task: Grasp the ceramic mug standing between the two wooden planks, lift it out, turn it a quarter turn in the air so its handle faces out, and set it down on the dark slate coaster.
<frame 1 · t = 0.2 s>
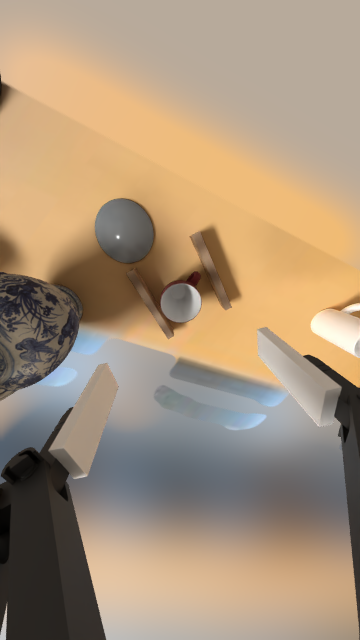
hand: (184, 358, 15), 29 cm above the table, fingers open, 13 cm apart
decorative vase: (60, 306, 41), on the table
mug: (180, 287, 41), on the table
mug 2: (329, 315, 47), on the table
wooden planks: (180, 287, 41), on the table
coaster: (125, 233, 36), on the table
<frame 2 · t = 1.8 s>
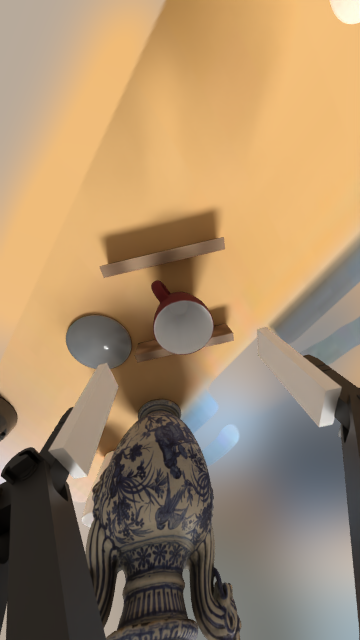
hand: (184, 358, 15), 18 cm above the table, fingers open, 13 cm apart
decorative vase: (160, 413, 42), on the table
mug: (173, 300, 31), on the table
cup: (117, 456, 48), on the table
wooden planks: (173, 300, 31), on the table
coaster: (100, 343, 33), on the table
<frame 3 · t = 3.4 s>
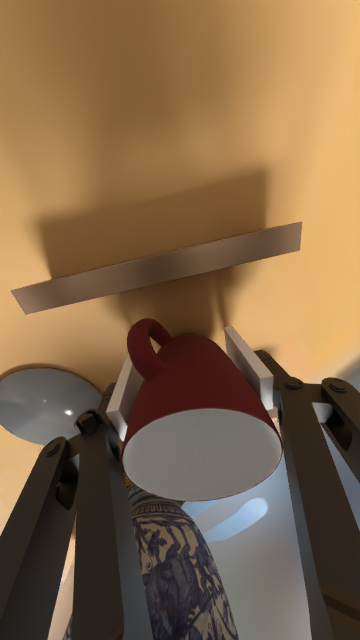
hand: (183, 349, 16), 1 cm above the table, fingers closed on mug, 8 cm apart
decorative vase: (157, 491, 29), on the table
mug: (179, 341, 17), on the table, touching gripper
cup: (98, 538, 34), on the table
wooden planks: (179, 342, 17), on the table
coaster: (54, 409, 19), on the table
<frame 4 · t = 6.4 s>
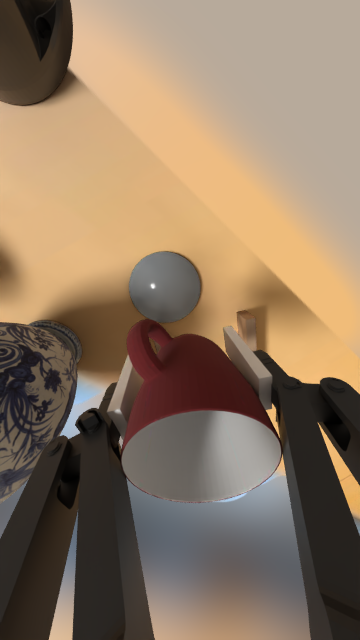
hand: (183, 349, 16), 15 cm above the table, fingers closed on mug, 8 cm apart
decorative vase: (53, 346, 31), on the table
mug: (179, 342, 17), point 14 cm above the table, touching gripper
wooden planks: (206, 359, 35), on the table
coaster: (165, 289, 29), on the table
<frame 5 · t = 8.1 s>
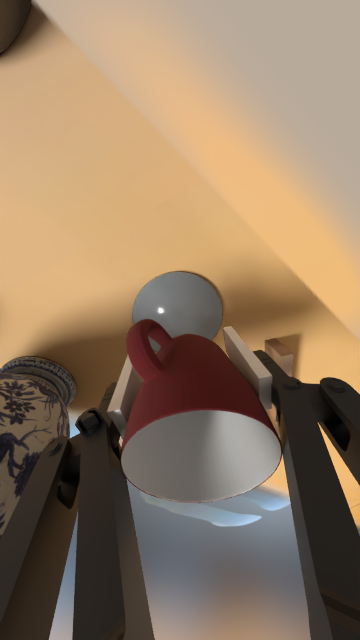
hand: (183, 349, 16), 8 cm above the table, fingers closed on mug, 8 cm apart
decorative vase: (41, 384, 26), on the table
mug: (179, 341, 17), point 6 cm above the table, touching gripper
wooden planks: (225, 392, 29), on the table
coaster: (178, 317, 23), on the table
when the fingers open (3 cm above the table, at t = 9.4 s): mug drops 1 cm, resting on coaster.
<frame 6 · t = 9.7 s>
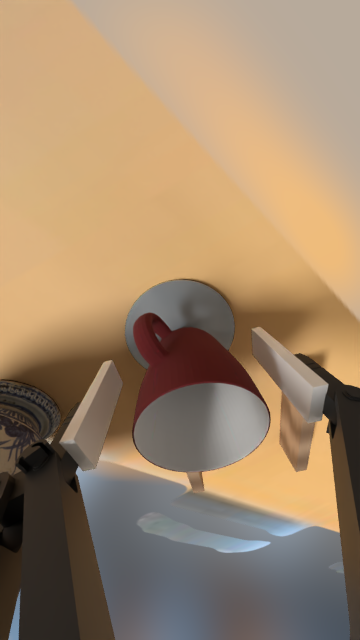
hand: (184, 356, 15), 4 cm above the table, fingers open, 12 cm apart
decorative vase: (18, 410, 22), on the table
mug: (177, 335, 19), resting on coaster
wooden planks: (235, 417, 25), on the table
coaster: (180, 333, 19), on the table
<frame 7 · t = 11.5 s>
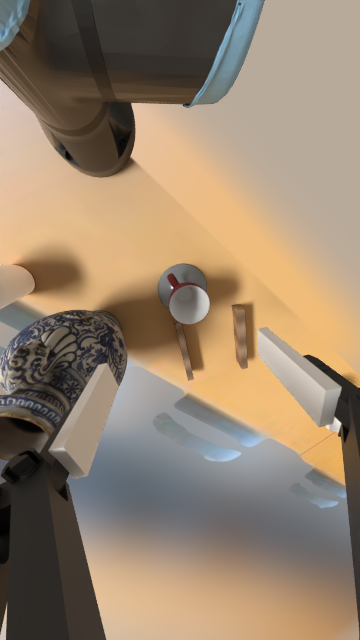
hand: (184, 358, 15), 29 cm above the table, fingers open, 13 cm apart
decorative vase: (101, 329, 44), on the table
mug: (181, 289, 41), resting on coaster
cup: (20, 280, 38), on the table
wooden planks: (210, 340, 48), on the table
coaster: (182, 289, 41), on the table
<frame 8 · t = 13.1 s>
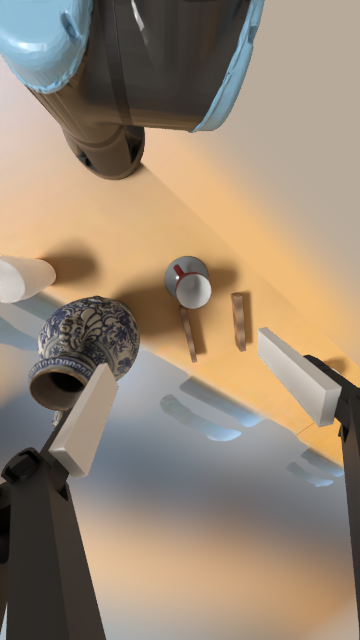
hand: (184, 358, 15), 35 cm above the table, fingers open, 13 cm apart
decorative vase: (114, 317, 49), on the table
mug: (185, 279, 46), resting on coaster
cup: (42, 272, 43), on the table
wooden planks: (212, 326, 53), on the table
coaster: (186, 279, 46), on the table
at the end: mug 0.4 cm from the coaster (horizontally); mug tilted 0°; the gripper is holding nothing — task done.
